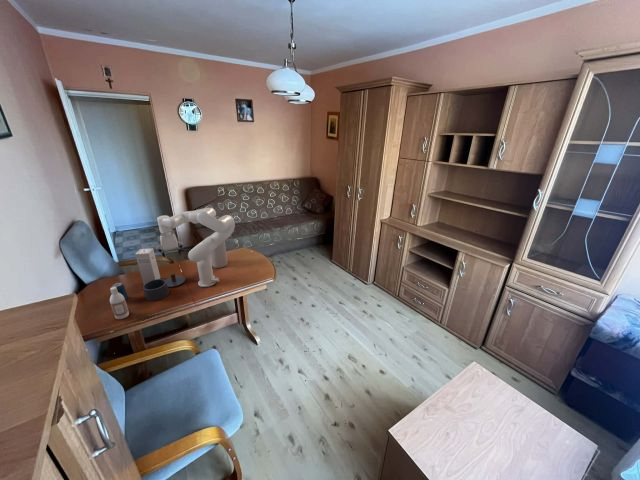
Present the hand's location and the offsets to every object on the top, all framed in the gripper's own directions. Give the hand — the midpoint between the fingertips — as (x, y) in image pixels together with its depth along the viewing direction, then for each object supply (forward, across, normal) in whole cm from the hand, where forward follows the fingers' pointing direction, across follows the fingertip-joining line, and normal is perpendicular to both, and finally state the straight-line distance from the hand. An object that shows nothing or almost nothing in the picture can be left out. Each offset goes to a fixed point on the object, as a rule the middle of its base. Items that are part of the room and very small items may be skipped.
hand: (172, 255), depth 189 cm
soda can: (+21, +34, +7) cm, 41 cm away
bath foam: (+21, +33, +27) cm, 48 cm away
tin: (+21, +14, +13) cm, 28 cm away
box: (+21, +16, -9) cm, 28 cm away
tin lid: (+20, +3, +1) cm, 21 cm away
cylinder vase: (+22, -33, -10) cm, 41 cm away
